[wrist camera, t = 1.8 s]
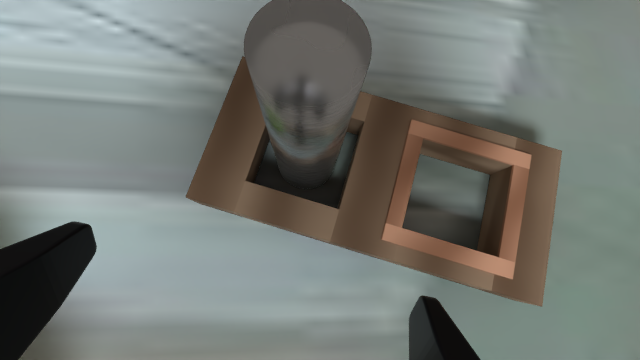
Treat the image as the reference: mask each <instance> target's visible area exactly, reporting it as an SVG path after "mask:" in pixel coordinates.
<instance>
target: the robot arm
mask: <svg viewBox="0 0 640 360" xmlns="http://www.w3.org/2000/svg"><path fill="white" fill-rule="evenodd" d="M96 247H97V246H96V242H95V238H94V234H93V231H92V228H91V226H90V225H89V224H85V223H80V222H70V223H67V224H64V225H62V226H59V227H56V228H54V229H51V230H49V231H46V232H43V233H41V234H38V235H36V236H33V237H31V238H28V239H25V240H23V241H20V242H18V243H15V244H12V245H10V246H7V247H5V248H2V249H0V360H18V359H19V358H20V357H21V355H22V354H23V353H24V352H25V350H26V349H27V348H28V347H29V345H30V344H31V343H32V342H33V340H34V339H35V338H36V337H37V335H38V334H39V333H40V332H41V330H42V329H43V328H44V327H45V325H46V324H47V323H48V322H49V320H50V319H51V318H52V317H53V315H54V314H55V313H56V311H57V310H58V309H59V308H60V306H61V305H62V303H63V302H64V300H65V299H66V298H67V296H68V295H69V293H70V291H71V290H72V288H73V287H74V285H75V284H76V282H77V281H78V279H79V278H80V276H81V275H82V273H83V272H84V270H85V269H86V267H87V265H88V264H89V262H90V261H91V259H92V258H93V256H94V254H95V252H96ZM409 360H480V358H479V357H478V356H477V354H476V353H475V351H474V350H473V349H472V347H471V346H470V344H469V343H468V342H467V340H466V339H465V337H464V336H463V335H462V333H461V332H460V330H459V329H458V328H457V326H456V325H455V323H454V322H453V321H452V319H451V318H450V316H449V315H448V314H447V312H446V311H445V309H444V308H443V307H442V305H441V304H440V302H439V301H438V300H437V299H435V298H432V297H428V296H420V297H419V299H418V301H417V302H416V304H415V306H414V308H413V310H412V312H411V314H410V318H409Z"/></svg>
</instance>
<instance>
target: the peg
mask: <svg viewBox="0 0 640 360" xmlns="http://www.w3.org/2000/svg"><path fill="white" fill-rule="evenodd" d="M371 51H372V47H371V39H370V35H369V32H368V29H367V27H366V25H365V23H364V22H363V20H362V19H361V17H360V16H359V15H358V14H357V13H356V12H355V11H354V10H353V9H352V8H351V7H350V6H349V5H347V4H346V3H344V2H343V1H341V0H272V1H271V2H269V3H267V4H266V5H265V6H264V7H262V8H261V9H260V10H259V11H258V12H257V13H256V14H255V16H254V17H253V19H252V20H251V22H250V24H249V26H248V28H247V31H246V34H245V40H244V54H245V59H246V62H247V66H248V69H249V72H250V76H251V79H252V82H253V85H254V89H255V92H256V95H257V98H258V102H259V105H260V108H261V111H262V115H263V118H264V121H265V125H266V128H267V131H268V134H269V138H270V141H271V144H272V147H273V151H274V154H275V157H276V161H277V164H278V167H279V170H280V173H281V175H282V176H283V178H284V179H285V180H286V181H287V182H288V183H289V184H291V185H292V186H294V187H297V188H301V189H313V188H316V187H319V186H321V185H322V184H324V183H325V182H326V181H327V180H328V179H329V178H330V176H331V174H332V173H333V170H334V167H335V164H336V161H337V158H338V155H339V152H340V149H341V146H342V143H343V140H344V137H345V135H346V132H347V129H348V126H349V123H350V120H351V117H352V114H353V111H354V108H355V105H356V102H357V99H358V96H359V93H360V90H361V87H362V84H363V81H364V78H365V76H366V73H367V70H368V67H369V64H370V59H371Z"/></svg>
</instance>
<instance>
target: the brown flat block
mask: <svg viewBox="0 0 640 360" xmlns="http://www.w3.org/2000/svg"><path fill="white" fill-rule="evenodd" d="M347 132H349V133H352V134H356V135H358V138H357V142H356V145H355V148H354V152H353V155H352V159H351V162H350V166H349V169H348V173H347V176H346V180H345V183H344V186H343V190H342V193H341V197H340V200H339V204H338V207H337V209H336V208H333V207H330V206H326V205H323V204H320V203H317V202H313V201H310V200H307V199H303V198H300V197H297V196H294V195H290V194H287V193H284V192H281V191H277V190H274V189H271V188H267V187H264V186H261V185H258V184H254V181H255V179H256V176H257V173H258V170H259V167H260V165H261V162H262V159H263V156H264V153H265V151H266V148H267V145H268V142H269V139H270V138H269V134H268V131H267V128H266V125H265V121H264V118H263V115H262V111H261V108H260V105H259V102H258V98H257V95H256V92H255V89H254V85H253V82H252V79H251V76H250V72H249V69H248V66H247V62H246V59H245V57H243V56H242V59H241V61H240V64H239V66H238V69H237V71H236V74H235V76H234V79H233V81H232V84H231V86H230V88H229V91H228V93H227V96H226V98H225V101H224V103H223V106H222V108H221V111H220V113H219V116H218V118H217V121H216V123H215V126H214V128H213V130H212V133H211V135H210V138H209V140H208V143H207V145H206V148H205V150H204V153H203V155H202V158H201V160H200V163H199V165H198V168H197V170H196V172H195V175H194V177H193V180H192V182H191V185H190V187H189V190H188V192H187V195H186V198H188V199H191V200H193V201H195V202H197V203H199V204H202V205H206V206H209V207H212V208H215V209H219V210H222V211H225V212H228V213H232V214H235V215H238V216H241V217H245V218H248V219H251V220H254V221H258V222H261V223H264V224H268V225H271V226H274V227H277V228H281V229H284V230H287V231H290V232H294V233H297V234H300V235H303V236H307V237H310V238H313V239H316V240H320V241H323V242H326V243H329V244H333V245H336V246H339V247H342V248H346V249H349V250H352V251H355V252H359V253H362V254H365V255H368V256H372V257H375V258H378V259H381V260H385V261H388V262H391V263H395V264H398V265H401V266H404V267H408V268H411V269H414V270H417V271H421V272H424V273H427V274H430V275H434V276H437V277H440V278H443V279H447V280H450V281H453V282H456V283H460V284H463V285H466V286H469V287H473V288H476V289H479V290H482V291H486V292H489V293H492V294H495V295H499V296H502V297H505V298H508V299H512V300H515V301H520V302H524V303H528V304H533V305H537V306H542V303H543V295H544V288H545V280H546V272H547V264H548V256H549V249H550V241H551V233H552V225H553V217H554V209H555V202H556V194H557V186H558V178H559V170H560V163H561V155H562V151H561V150H557V149H554V148H551V147H547V146H544V145H540V144H537V143H534V142H530V141H527V140H524V139H520V138H517V137H513V136H510V135H507V134H503V133H500V132H496V131H493V130H490V129H486V128H483V127H480V126H476V125H473V124H469V123H466V122H463V121H459V120H456V119H453V118H449V117H446V116H442V115H439V114H436V113H432V112H429V111H425V110H422V109H419V108H415V107H412V106H409V105H405V104H402V103H398V102H395V101H392V100H388V99H385V98H381V97H378V96H375V95H371V94H368V93H365V92H361V91H360V93H359V96H358V99H357V102H356V105H355V108H354V111H353V114H352V117H351V120H350V123H349V126H348V129H347ZM419 154H422V155H426V156H429V157H432V158H436V159H439V160H443V161H446V162H449V163H453V164H456V165H459V166H463V167H466V168H469V169H473V170H476V171H479V172H483V173H486V174H489V175H490V180H489V185H488V191H487V197H486V202H485V208H484V213H483V219H482V224H481V230H480V235H479V241H478V247H477V251H476V250H473V249H470V248H466V247H463V246H460V245H456V244H453V243H450V242H447V241H443V240H440V239H437V238H433V237H430V236H427V235H424V234H420V233H417V232H414V231H410V230H407V229H404V228H402V226H403V222H404V217H405V213H406V209H407V205H408V201H409V196H410V192H411V188H412V184H413V180H414V175H415V171H416V167H417V163H418V158H419Z"/></svg>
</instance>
